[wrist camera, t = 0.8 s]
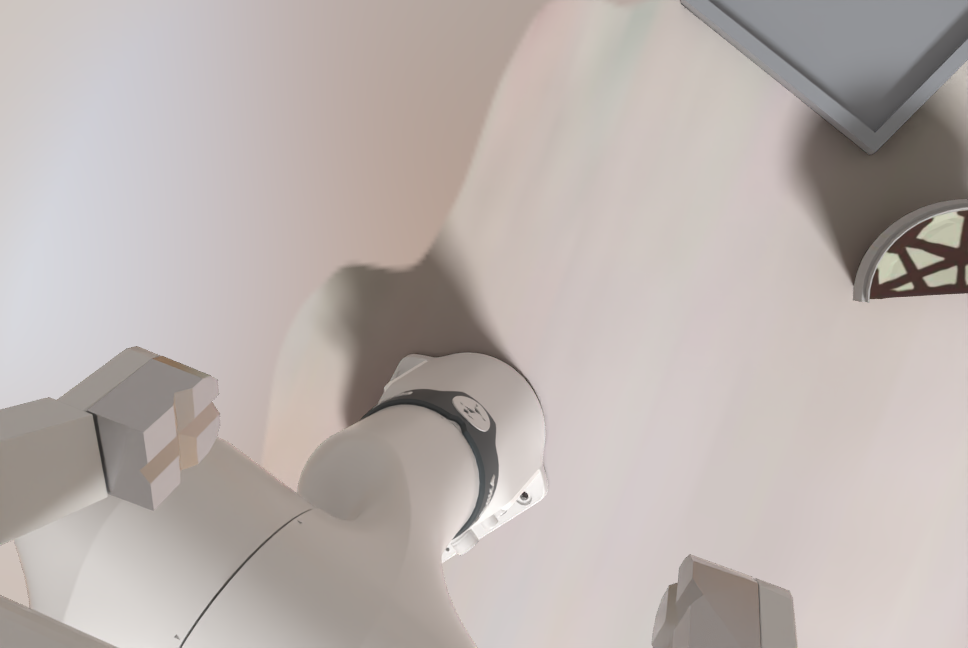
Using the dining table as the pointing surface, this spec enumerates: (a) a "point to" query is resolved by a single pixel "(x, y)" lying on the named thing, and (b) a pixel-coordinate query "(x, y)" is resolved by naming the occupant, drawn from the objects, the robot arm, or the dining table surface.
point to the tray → (849, 54)
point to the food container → (918, 255)
